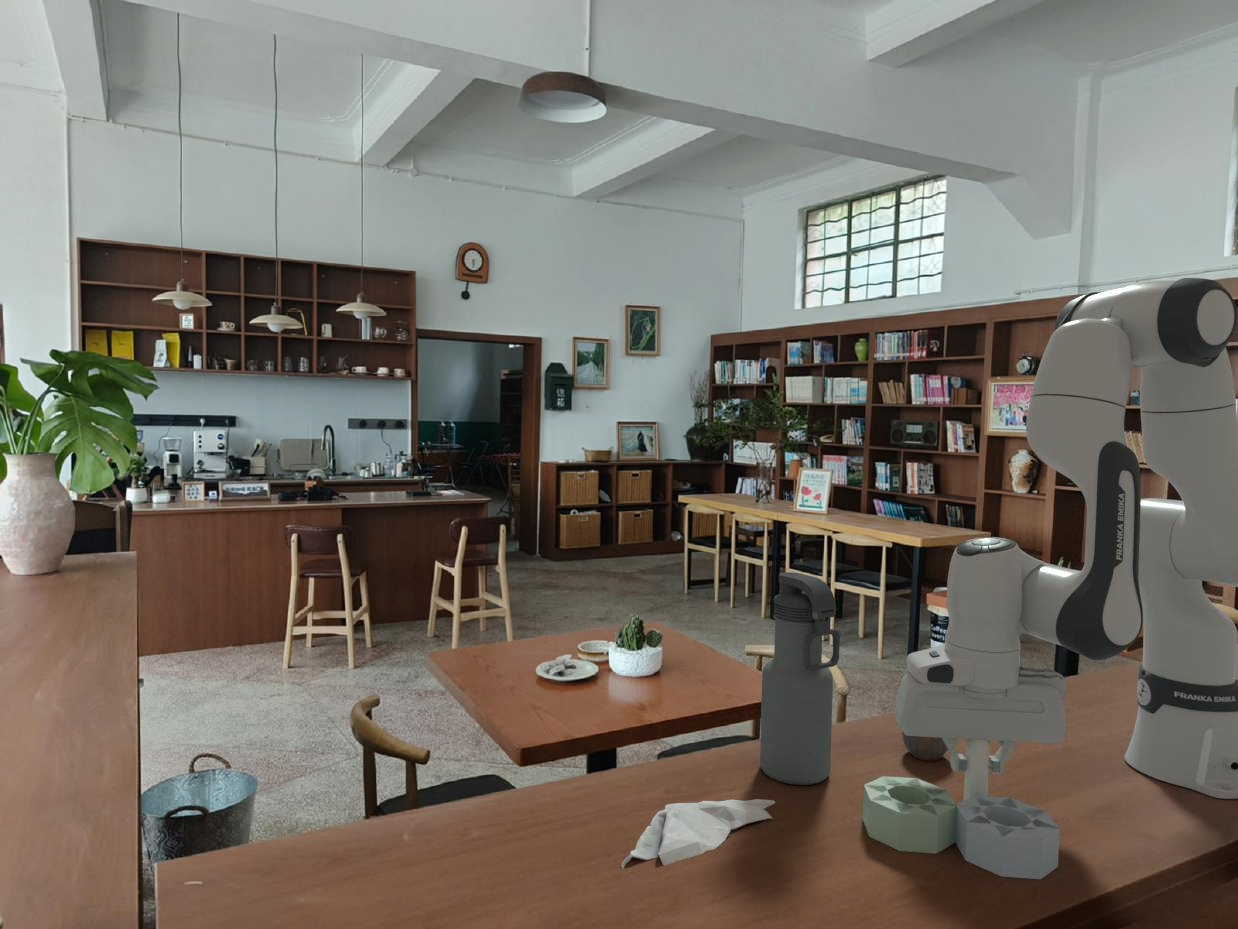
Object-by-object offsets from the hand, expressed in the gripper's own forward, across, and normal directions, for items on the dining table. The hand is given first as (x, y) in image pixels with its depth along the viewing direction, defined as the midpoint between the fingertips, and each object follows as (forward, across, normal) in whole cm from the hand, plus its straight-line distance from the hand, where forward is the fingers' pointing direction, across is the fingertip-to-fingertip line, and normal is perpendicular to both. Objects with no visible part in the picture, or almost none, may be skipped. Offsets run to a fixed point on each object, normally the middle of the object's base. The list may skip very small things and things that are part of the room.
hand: (976, 771), depth 106 cm
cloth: (+6, +35, +10) cm, 37 cm away
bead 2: (+5, 0, +11) cm, 12 cm away
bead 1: (+5, +10, +7) cm, 13 cm away
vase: (+5, +2, -17) cm, 18 cm away
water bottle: (+5, +22, -8) cm, 24 cm away
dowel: (+5, 0, 0) cm, 5 cm away
